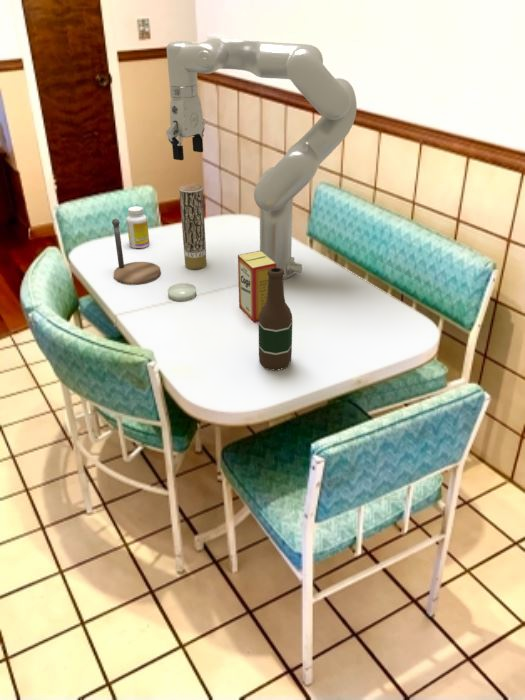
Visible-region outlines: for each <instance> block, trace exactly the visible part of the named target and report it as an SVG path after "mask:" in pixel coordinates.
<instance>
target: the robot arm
mask: <svg viewBox="0 0 525 700" xmlns="http://www.w3.org/2000/svg"><path fill="white" fill-rule="evenodd" d="M166 58H167V69H168V81H169V82H168V83H169V93H170V94H169V95H170V102H169V122H170V125H169V127H168V129H167V130H166V132H165V133H166V135H167V138H168V142H169V143H170V145H171V146H172V158H173V160H177V161H184V159H185V158H184V157H185V156H184V145H182V142H183V140H184V139H187V138H190V137H191V139H192V141H191V142H192V150H193V152H196V153H203V152H204V142H203V138H204V132H205V125H206V119H205V118H204V115H203V107H202V103H201V98H200V95H199V88H198V86H199V85H198V75H197V74H198V73H199V74H202V75H203V74H207V75H208V74H212V73H215V72H217V71H218V70H221V69H222V70H237V71H246V72H249V73H252V74H253V75H254V76H256V77H258V78H261V79H262V78H263V79H278V80H279V79H280V80H289V81H291V83H292V84H293V86H294V87H296V89H297V90H298V91H299V92H300V93H301V94H302V96H303V97H304V98H305V99H306V100H307V101H308V102H309V103H310V105H311V106H312V107H313V108H314V109H315V111H317V113H319V115H321V117H320V118H319V119H318V120H317V121H316V122H315V123H314V125H313V126H312V127H311V128H310V129H309V130H308V131H307V132H306V133H305V134H304V135H303V136H302V137H300V139H299V140H298V141H296V142H295V143H294V144H292V145H291V146H290V148H289V149H288V150H287V152H286V153H285V154H284V156H282V158H281V159H280V160H279V161H278V162H277V163H276V164H275V165H274V166H273V167H269V168H268V169H267V170H266V171H264V172H263V173H262V174H261V176H260V178H259V180H258V182H257V183H256V185H255V187H254V190H253V198H254V201H255V204H256V205H257V207H258V208H259V209H260V210H259V251H261V252H263V253H264V254H265V255H266V256H267V257H269V258H270V259H271V260H272V261H274V262H275V263H276V267H277V268H281V269H282V270H284V275H283V280H285V279H288V278H290V277H292V276H294V275H296V273H298V274H302V272H303V264H302V263H300V262H299V263H298V262H295V257H294V256H292V247H293V246H292V241H293V240H292V239H293V238H292V237H293V234H292V233H293V209H294V208H293V205H294V198H295V197H296V196H297V195H298V194H299V193H301V191H302V190H303V189H305V187H306V186H307V185H308V184H310V182H311V181H312V180H313V179H314V177H315V176H316V174H317V171H318V169H319V167H320V165H321V164H322V163H323V162H324V161H325V160H326V159H327V158H328V157H329V156H330V155H331V154H332V153H333V151H334V150H336V149H337V147H338V146H339V145H340V144H341V143H342V142H343V141H344V140H345V138H346V137H347V136H348V135H349V133H350V131H351V129H352V128H353V125H354V122H355V121H356V120H355V119H356V115H357V108H358V107H357V97H356V96H357V95H356V93H355V90H354V87H353V86H352V84H351V83H350V82H349V81H348V80H347V79H344V78H339V77H338V78H335V77H334V75H332V73H331V72H330V71H329V70H328V69H327V67H326V66H325V65H324V58H323V54H322V52H321V50H320V49H319V48H318V47H316V45H315V46H314V45H312V44H304V43H291V42H290V43H288V42H287V43H286V42H274V41H273V42H272V41H271V42H270V41H261V40H260V41H256V40H245V39H233V38H232V39H231V38H228V39H227V38H210V39H208V40H205V41H202V42H199V43H194V42H191V41H186V40H185V41H184V40H181V41H180V40H178V41H177V40H176V41H171V42H169V43H168V44H167V45H166Z"/></svg>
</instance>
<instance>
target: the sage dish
mask: <svg viewBox="0 0 525 700" xmlns="http://www.w3.org/2000/svg"><path fill="white" fill-rule="evenodd" d="M196 296H197V287H196V286H195V285H194V284H191V283H175V284H173V285H171V286H169V287H168V288H167V297H168V299H169V300H171V301H174V302H187V301H191V300H193V299H194V298H195V297H196Z"/></svg>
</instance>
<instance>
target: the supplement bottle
mask: <svg viewBox="0 0 525 700" xmlns="http://www.w3.org/2000/svg"><path fill="white" fill-rule="evenodd" d="M127 210H128V214H129V215H128V216H127V217H126V225H127V234H128V242H129V246H130V247H131V248H133V249H136V248H141V249H145V248H147V247H148V246H150V236H149V235H150V234H149V226H148V218H147V216H146V215H145V214H144V209H143V206H138V205H137V206H135V205H134V206H131V207H129V208H128V209H127Z"/></svg>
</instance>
